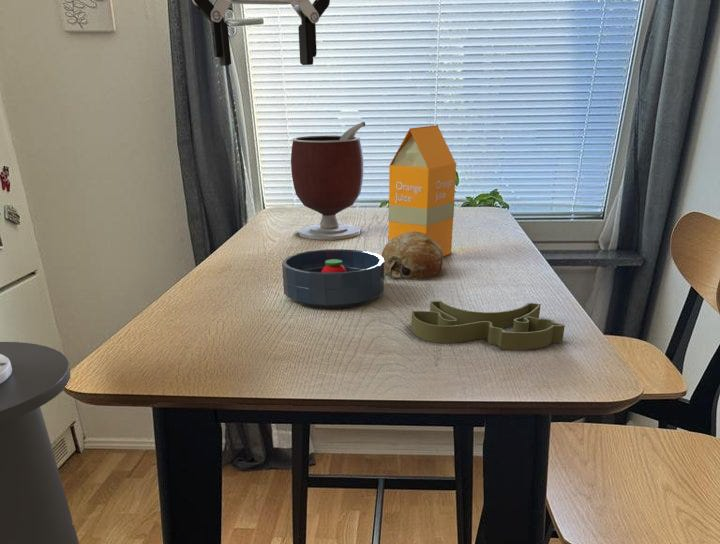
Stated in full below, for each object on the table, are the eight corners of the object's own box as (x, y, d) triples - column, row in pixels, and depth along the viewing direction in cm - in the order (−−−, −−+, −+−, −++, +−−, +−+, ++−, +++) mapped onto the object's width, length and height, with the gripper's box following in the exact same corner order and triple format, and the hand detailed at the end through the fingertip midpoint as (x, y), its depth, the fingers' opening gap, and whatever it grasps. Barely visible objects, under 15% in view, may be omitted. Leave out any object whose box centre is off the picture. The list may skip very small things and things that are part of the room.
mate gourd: (280, 235, 133) (272, 121, 122) (322, 224, 143) (317, 117, 132) (345, 244, 125) (342, 124, 115) (383, 231, 135) (384, 119, 125)
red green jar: (326, 295, 94) (325, 265, 92) (317, 288, 97) (316, 259, 95) (351, 292, 95) (351, 262, 93) (342, 285, 98) (342, 257, 96)
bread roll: (376, 297, 108) (370, 255, 101) (393, 256, 113) (387, 214, 107) (437, 302, 105) (434, 259, 99) (450, 260, 110) (448, 217, 104)
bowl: (300, 316, 88) (298, 277, 86) (273, 288, 100) (271, 254, 97) (399, 303, 93) (399, 267, 90) (362, 279, 104) (362, 245, 101)
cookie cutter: (553, 318, 86) (555, 303, 85) (565, 351, 76) (568, 334, 75) (413, 315, 88) (414, 300, 87) (407, 346, 78) (408, 329, 77)
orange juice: (452, 253, 118) (459, 125, 108) (425, 263, 112) (430, 129, 102) (414, 248, 122) (418, 124, 112) (387, 257, 116) (388, 127, 106)
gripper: (172, -148, 63) (197, 65, 72) (344, -134, 68) (347, 64, 77) (162, -129, 69) (186, 66, 78) (321, -117, 74) (327, 65, 83)
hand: (266, 65), depth 78 cm, fingers open, 9 cm apart
